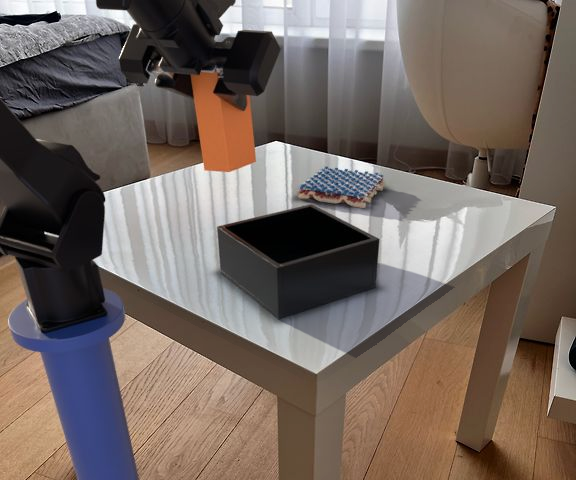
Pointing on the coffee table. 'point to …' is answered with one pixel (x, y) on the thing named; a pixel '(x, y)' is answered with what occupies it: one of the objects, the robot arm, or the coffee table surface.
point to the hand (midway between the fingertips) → (229, 105)
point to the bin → (297, 259)
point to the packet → (222, 127)
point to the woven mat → (342, 186)
